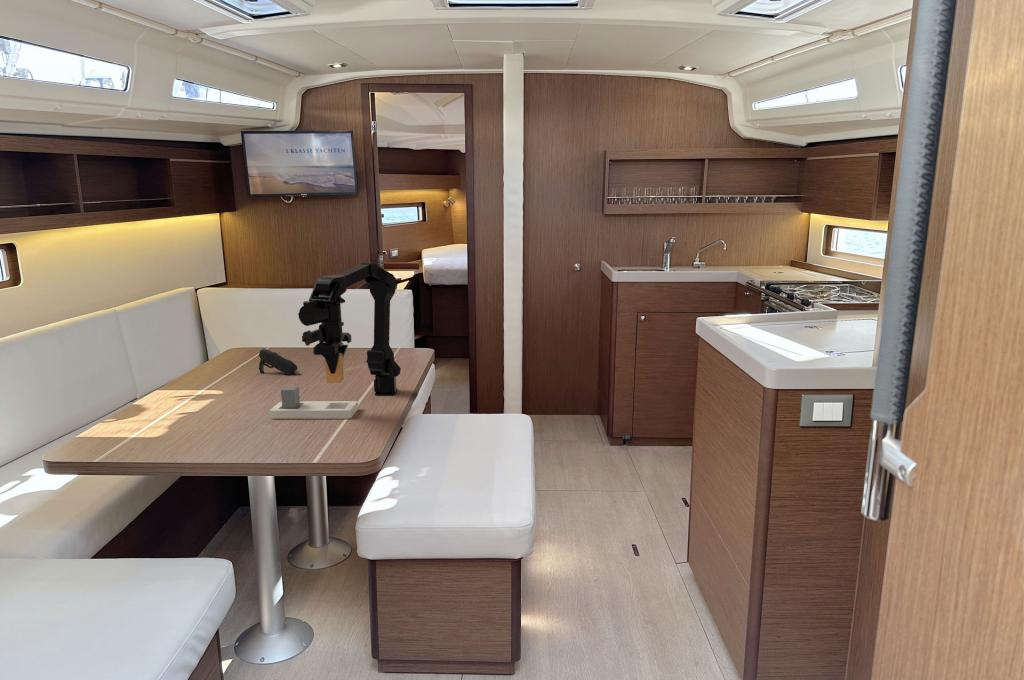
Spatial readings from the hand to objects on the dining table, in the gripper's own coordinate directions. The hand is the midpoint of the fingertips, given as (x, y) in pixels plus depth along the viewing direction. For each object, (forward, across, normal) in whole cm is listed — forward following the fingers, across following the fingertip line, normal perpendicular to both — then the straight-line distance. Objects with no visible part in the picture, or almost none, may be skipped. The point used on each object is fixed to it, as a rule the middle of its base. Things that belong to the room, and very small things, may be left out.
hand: (335, 371), depth 204 cm
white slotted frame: (+13, 0, -7) cm, 15 cm away
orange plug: (+3, 0, 0) cm, 3 cm away
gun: (+13, -47, -35) cm, 60 cm away
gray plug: (+13, 0, -14) cm, 19 cm away
